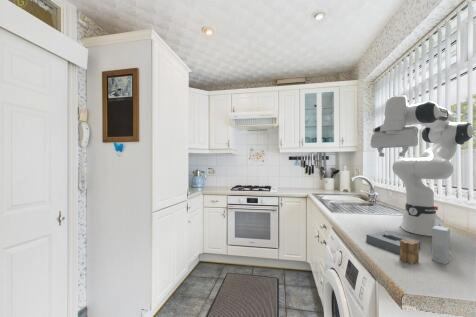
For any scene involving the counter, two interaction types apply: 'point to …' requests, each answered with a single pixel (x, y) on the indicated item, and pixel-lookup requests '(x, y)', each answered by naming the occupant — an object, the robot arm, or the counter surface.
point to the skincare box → (441, 244)
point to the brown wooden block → (409, 251)
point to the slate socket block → (387, 240)
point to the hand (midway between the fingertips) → (391, 156)
